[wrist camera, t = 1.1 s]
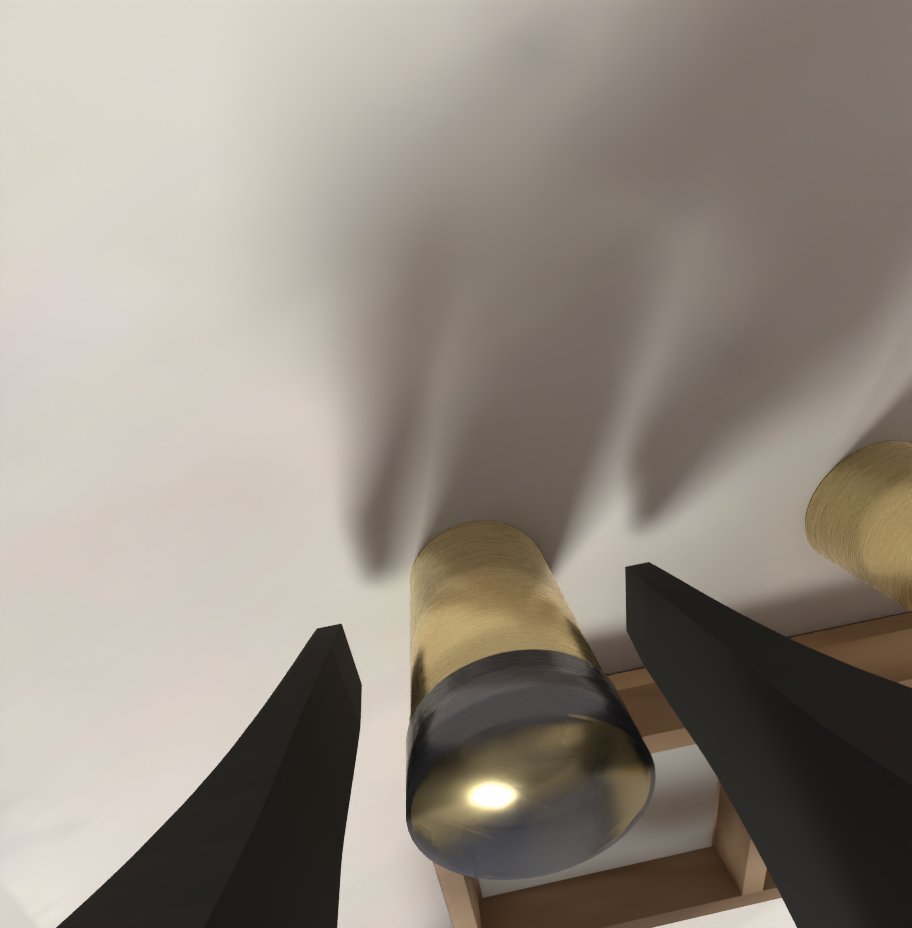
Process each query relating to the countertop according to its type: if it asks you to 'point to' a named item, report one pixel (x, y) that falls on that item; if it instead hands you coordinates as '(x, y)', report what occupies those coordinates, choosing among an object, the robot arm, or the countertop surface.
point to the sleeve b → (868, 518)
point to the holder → (667, 822)
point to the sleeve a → (511, 716)
